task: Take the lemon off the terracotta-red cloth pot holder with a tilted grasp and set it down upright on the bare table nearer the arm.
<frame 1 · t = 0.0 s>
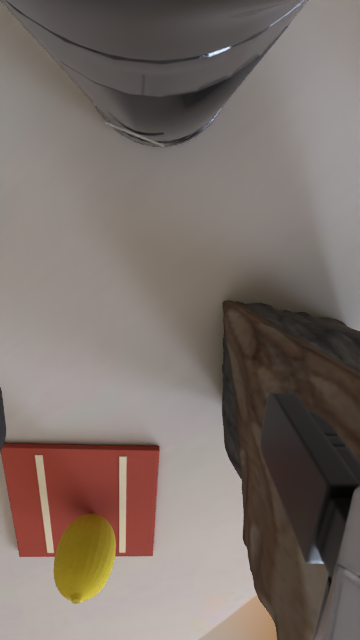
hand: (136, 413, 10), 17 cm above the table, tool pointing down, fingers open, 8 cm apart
brown rock: (272, 350, 29), on the table
lemon: (94, 512, 35), resting on pot holder
pot holder: (85, 502, 35), on the table
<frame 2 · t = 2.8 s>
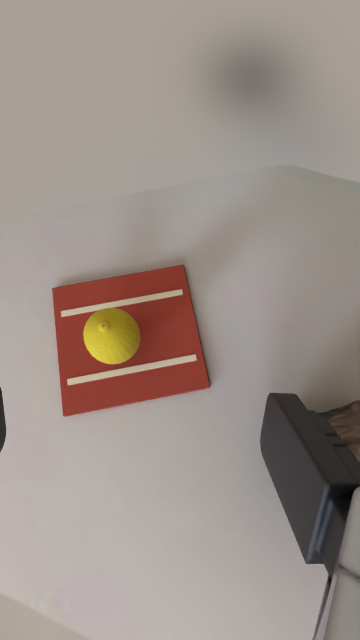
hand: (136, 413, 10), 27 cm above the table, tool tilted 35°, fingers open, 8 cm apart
brown rock: (332, 458, 34), on the table
lemon: (120, 345, 38), resting on pot holder
pot holder: (128, 336, 38), on the table
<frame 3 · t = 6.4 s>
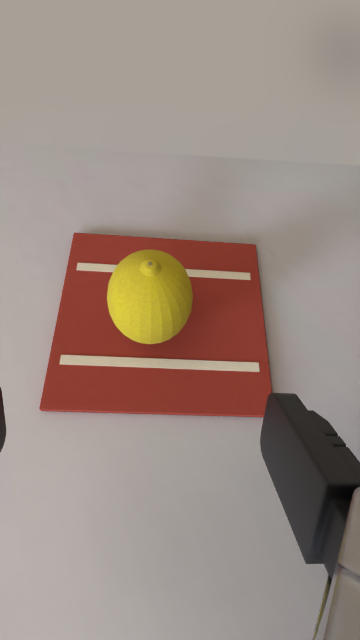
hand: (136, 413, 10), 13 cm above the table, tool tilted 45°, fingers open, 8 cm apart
lemon: (150, 326, 25), resting on pot holder
pot holder: (163, 317, 26), on the table
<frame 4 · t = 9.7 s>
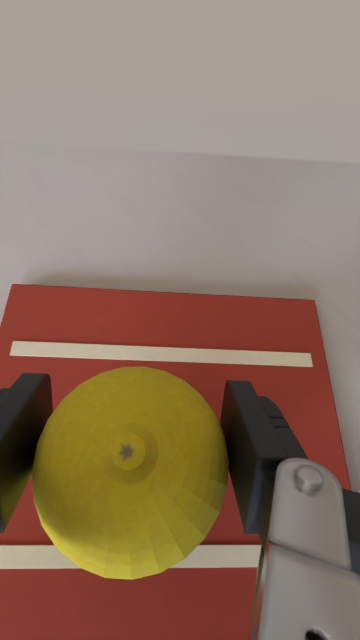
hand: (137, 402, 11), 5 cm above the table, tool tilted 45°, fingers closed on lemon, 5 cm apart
lemon: (138, 468, 14), resting on pot holder, touching gripper
pot holder: (163, 444, 15), on the table
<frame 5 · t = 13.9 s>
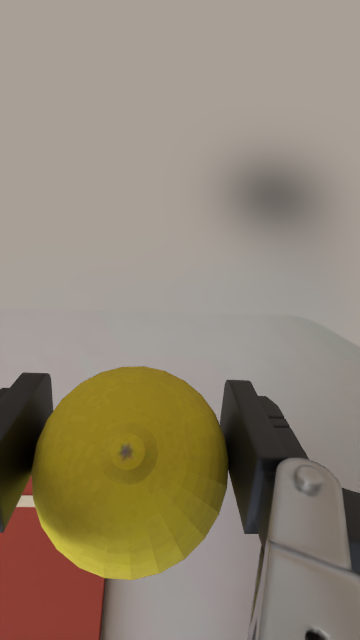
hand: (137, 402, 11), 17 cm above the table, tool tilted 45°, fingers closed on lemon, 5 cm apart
lemon: (138, 468, 14), point 12 cm above the table, touching gripper
when the fingers open (4 cm above the table, at t = 18.4 s): lemon stays where it is, on the table.
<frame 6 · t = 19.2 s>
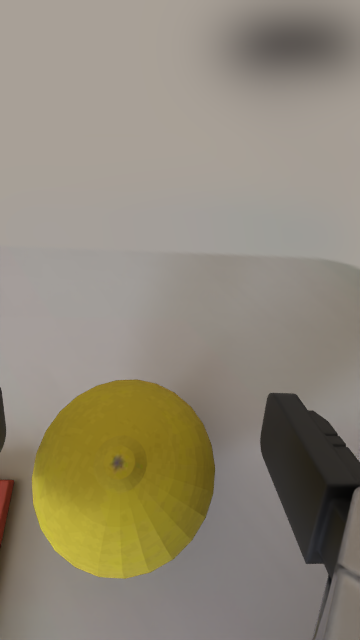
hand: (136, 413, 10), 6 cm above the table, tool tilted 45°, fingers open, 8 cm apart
lemon: (133, 472, 14), on the table
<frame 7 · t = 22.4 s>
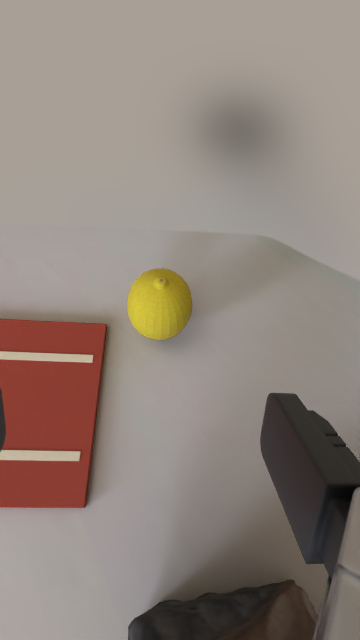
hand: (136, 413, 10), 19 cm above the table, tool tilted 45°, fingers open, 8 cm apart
lemon: (158, 326, 32), on the table
pot holder: (0, 403, 28), on the table
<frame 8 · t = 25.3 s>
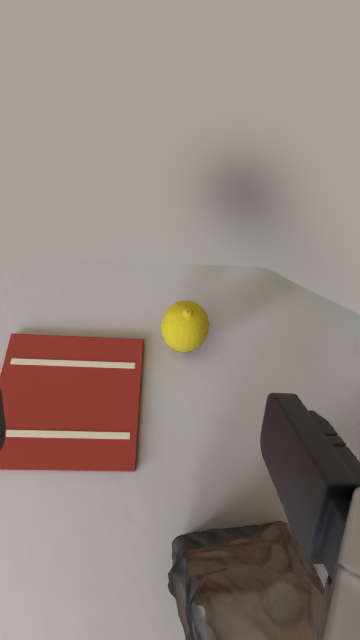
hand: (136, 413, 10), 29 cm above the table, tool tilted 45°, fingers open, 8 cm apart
brown rock: (242, 580, 32), on the table
lemon: (181, 340, 43), on the table
pot holder: (69, 398, 38), on the table
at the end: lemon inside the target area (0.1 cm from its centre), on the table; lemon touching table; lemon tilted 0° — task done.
